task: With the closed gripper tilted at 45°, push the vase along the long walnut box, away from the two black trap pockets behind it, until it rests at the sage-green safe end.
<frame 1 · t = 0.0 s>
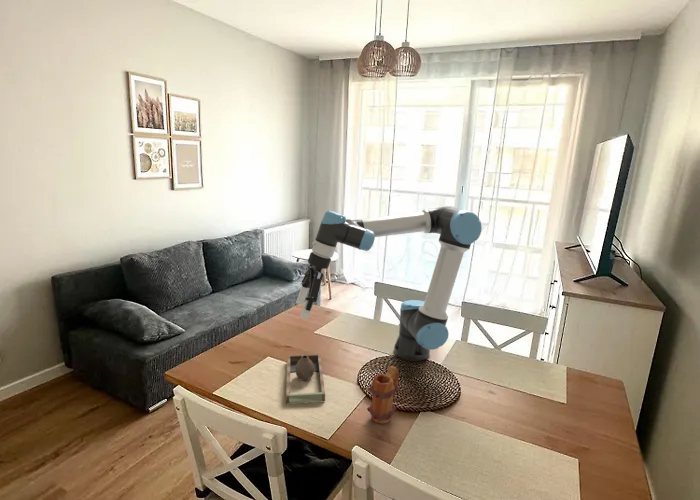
hand: (301, 310, 140), 28 cm above the table, tool tilted 20°, fingers open, 13 cm apart
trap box: (304, 380, 147), on the table
mug: (385, 414, 129), on the table
vase: (304, 378, 149), resting in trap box
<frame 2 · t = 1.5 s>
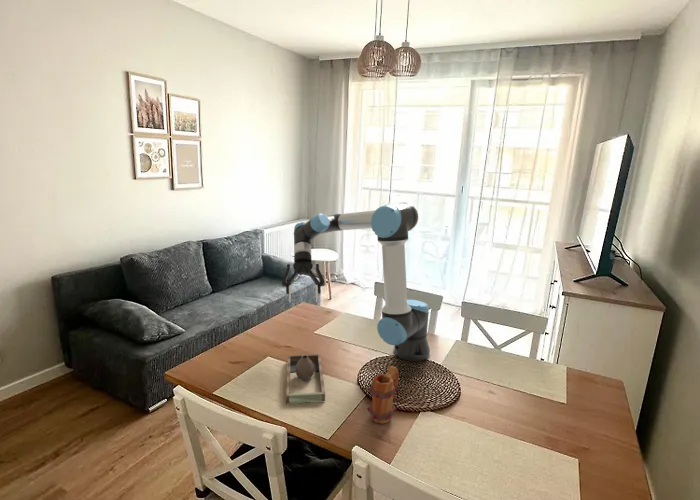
hand: (303, 300, 163), 23 cm above the table, tool tilted 45°, fingers open, 10 cm apart
nothing on the table moved.
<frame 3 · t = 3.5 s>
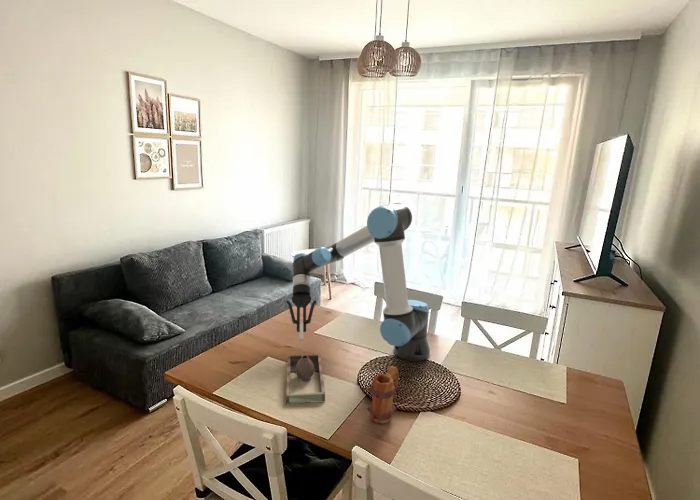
hand: (301, 339, 160), 9 cm above the table, tool tilted 45°, fingers closed
nothing on the table moved.
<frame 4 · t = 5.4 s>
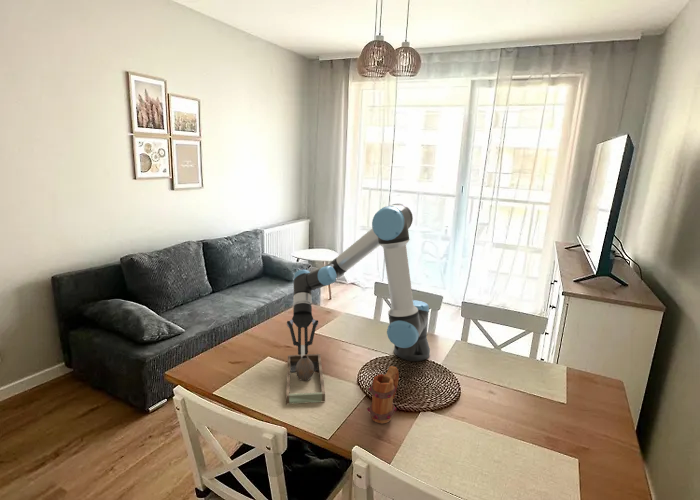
hand: (302, 362, 152), 4 cm above the table, tool tilted 45°, fingers closed
vase: (304, 378, 149), resting in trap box, touching gripper
everything else where it was.
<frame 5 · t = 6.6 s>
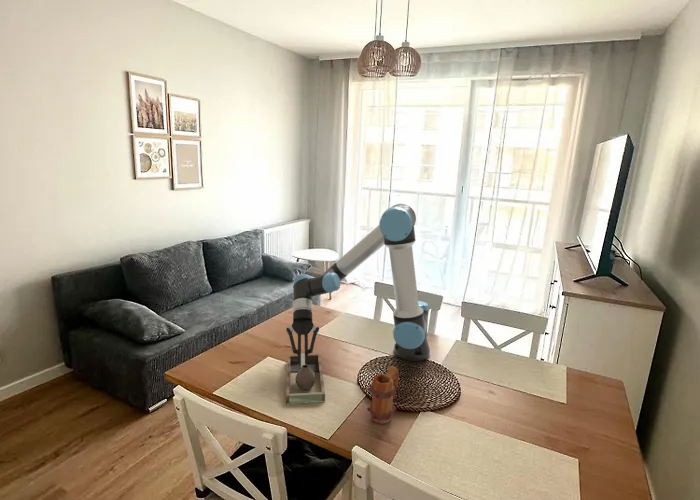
hand: (302, 371, 146), 4 cm above the table, tool tilted 45°, fingers closed
vase: (305, 388, 142), resting in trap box, touching gripper
everything else where it was.
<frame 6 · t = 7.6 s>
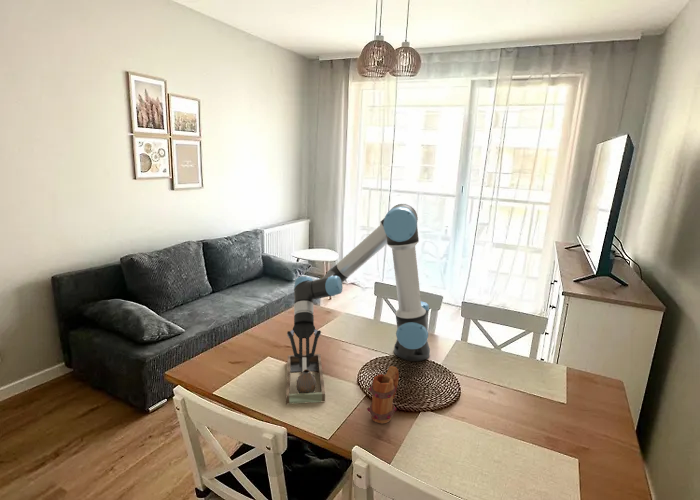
hand: (304, 376, 142), 4 cm above the table, tool tilted 45°, fingers closed
vase: (306, 394, 139), resting in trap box, touching gripper
everything else where it was.
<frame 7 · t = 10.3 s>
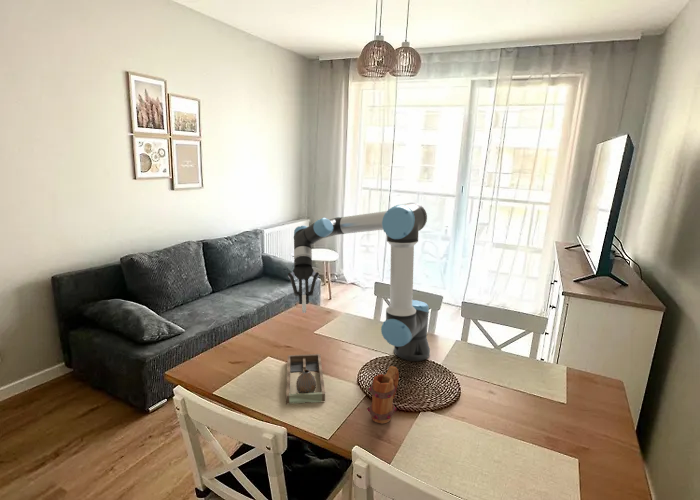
hand: (304, 311, 156), 22 cm above the table, tool tilted 45°, fingers closed
vase: (306, 394, 139), resting in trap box
everything else where it was.
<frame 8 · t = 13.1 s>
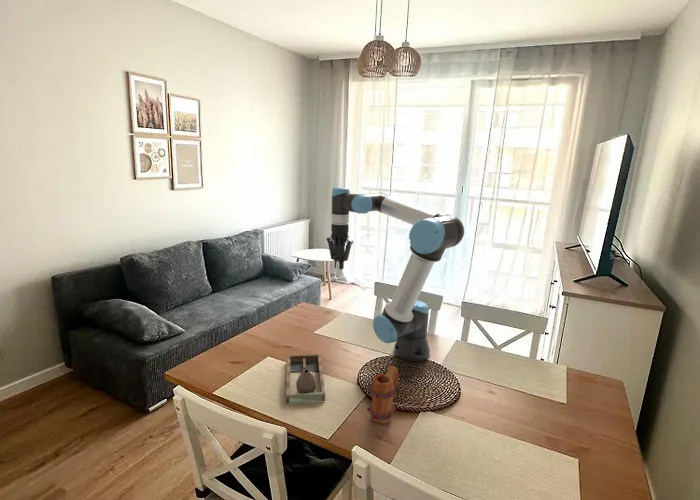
hand: (339, 275, 178), 29 cm above the table, tool pointing down, fingers closed
nothing on the table moved.
at the end: vase inside the target area (0.3 cm from its centre), resting in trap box; vase tilted 0° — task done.
